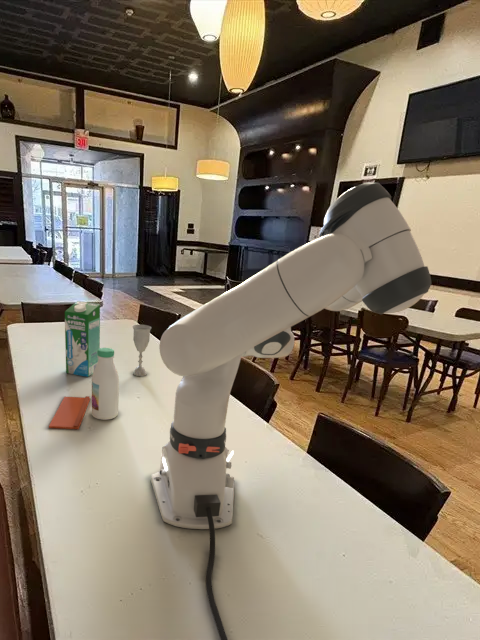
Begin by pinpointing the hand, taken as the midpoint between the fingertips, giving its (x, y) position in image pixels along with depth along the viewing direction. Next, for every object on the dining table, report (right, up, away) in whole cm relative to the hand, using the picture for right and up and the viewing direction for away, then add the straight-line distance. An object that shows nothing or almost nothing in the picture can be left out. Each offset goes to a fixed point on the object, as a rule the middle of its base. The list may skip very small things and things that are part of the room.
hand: (183, 336), depth 114 cm
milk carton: (-37, -8, +40) cm, 55 cm away
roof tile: (-33, -21, +7) cm, 40 cm away
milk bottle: (-23, -22, +8) cm, 33 cm away
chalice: (-16, -9, +42) cm, 46 cm away
